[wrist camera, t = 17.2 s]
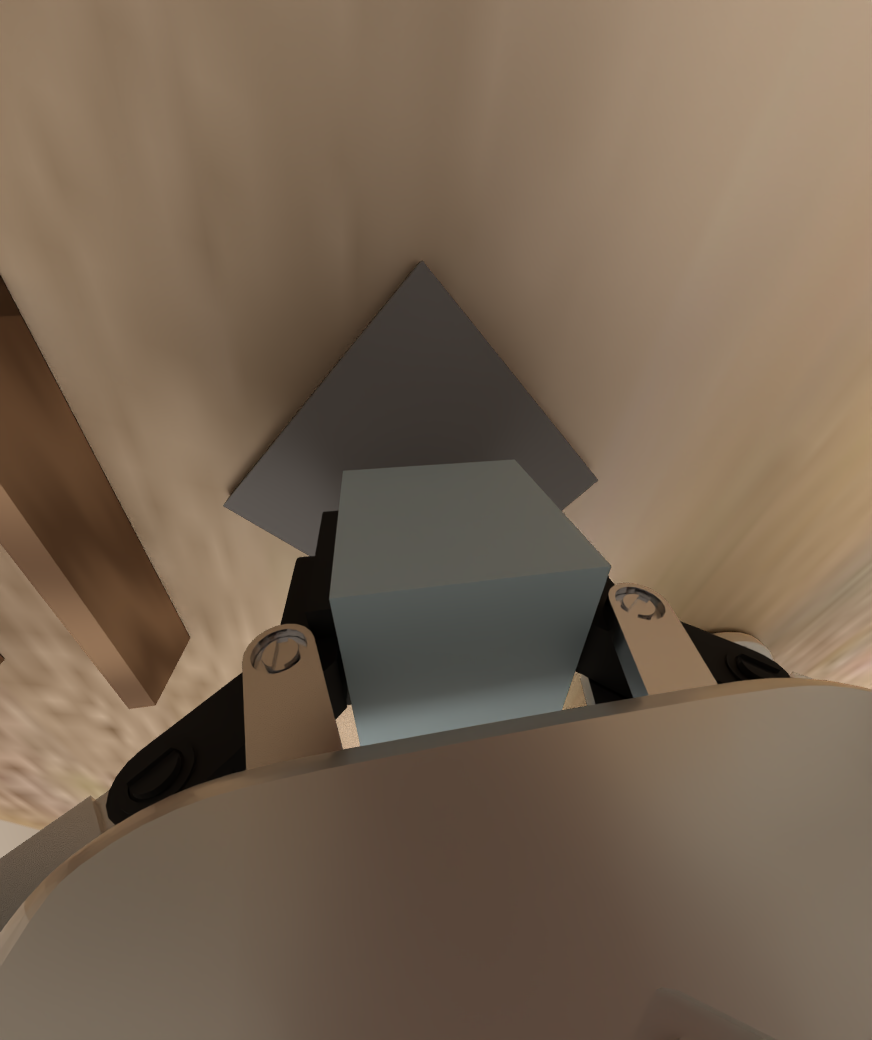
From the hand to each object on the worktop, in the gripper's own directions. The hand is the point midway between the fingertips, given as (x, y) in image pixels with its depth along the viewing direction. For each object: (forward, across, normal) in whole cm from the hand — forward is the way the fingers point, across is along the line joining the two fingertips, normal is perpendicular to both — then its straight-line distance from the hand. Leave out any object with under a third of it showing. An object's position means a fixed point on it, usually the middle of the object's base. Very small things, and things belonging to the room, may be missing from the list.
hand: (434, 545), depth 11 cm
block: (+1, 0, +1) cm, 1 cm away
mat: (+5, 0, 0) cm, 5 cm away
